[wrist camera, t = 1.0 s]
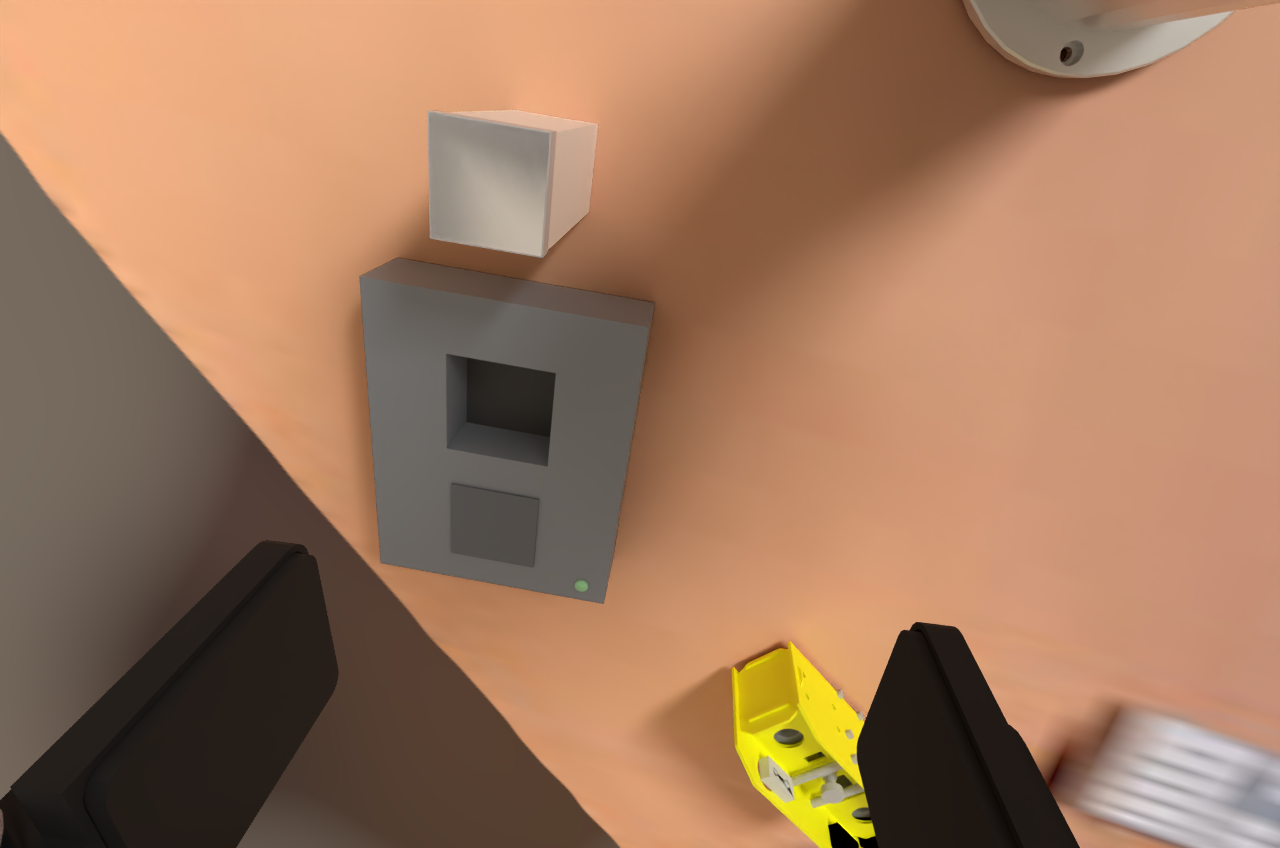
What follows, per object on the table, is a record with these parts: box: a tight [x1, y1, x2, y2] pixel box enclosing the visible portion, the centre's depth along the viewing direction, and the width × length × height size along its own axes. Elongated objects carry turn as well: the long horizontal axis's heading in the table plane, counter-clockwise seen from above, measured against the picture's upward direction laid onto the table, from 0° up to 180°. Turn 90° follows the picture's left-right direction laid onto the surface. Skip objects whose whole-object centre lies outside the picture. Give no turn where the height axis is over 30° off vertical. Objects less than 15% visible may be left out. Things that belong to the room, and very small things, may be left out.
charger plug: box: [428, 110, 598, 258], centre depth 25 cm, size 4×4×10 cm
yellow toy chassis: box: [731, 642, 878, 848], centre depth 42 cm, size 16×6×8 cm, turn 39°
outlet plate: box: [359, 258, 655, 604], centre depth 35 cm, size 18×14×4 cm
